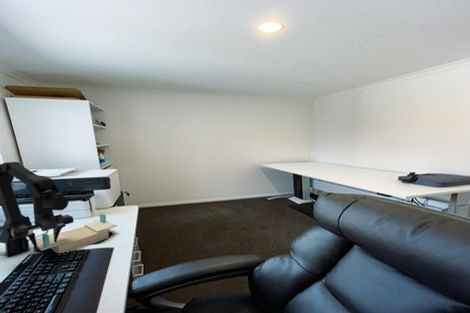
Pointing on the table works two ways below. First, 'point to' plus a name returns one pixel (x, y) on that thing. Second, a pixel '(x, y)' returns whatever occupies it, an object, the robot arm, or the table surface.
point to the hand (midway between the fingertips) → (45, 244)
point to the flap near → (49, 241)
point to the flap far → (101, 224)
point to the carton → (80, 239)
